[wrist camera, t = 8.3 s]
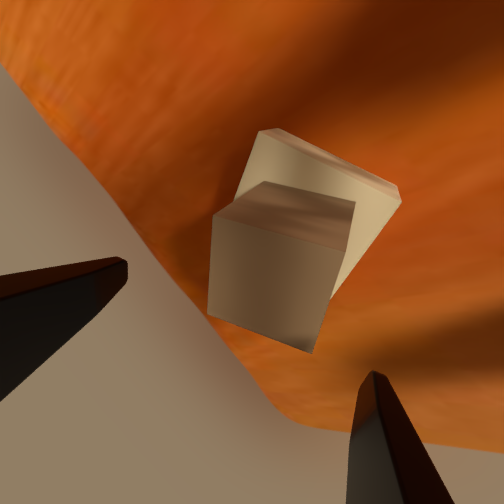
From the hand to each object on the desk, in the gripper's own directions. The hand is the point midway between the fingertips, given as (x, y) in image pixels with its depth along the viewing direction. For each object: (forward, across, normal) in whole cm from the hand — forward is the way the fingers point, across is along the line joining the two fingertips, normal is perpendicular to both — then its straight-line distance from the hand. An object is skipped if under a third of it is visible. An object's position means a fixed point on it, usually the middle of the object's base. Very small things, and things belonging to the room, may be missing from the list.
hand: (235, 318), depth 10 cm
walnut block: (+8, 0, 0) cm, 8 cm away
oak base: (+12, 0, 0) cm, 12 cm away
